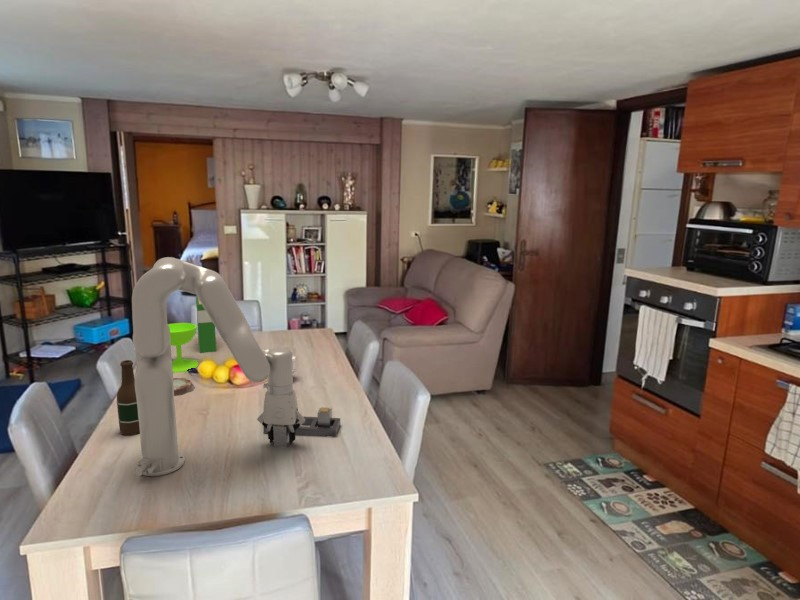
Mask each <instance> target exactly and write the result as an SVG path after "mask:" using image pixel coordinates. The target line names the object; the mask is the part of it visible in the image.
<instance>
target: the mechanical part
mask: <svg viewBox="0 0 800 600" xmlns="http://www.w3.org/2000/svg"><path fill="white" fill-rule="evenodd" d="M296 357H297V356H294V355H292V369H293V374H295V373H296V372H297V358H296Z"/></svg>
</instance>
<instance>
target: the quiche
mask: <svg viewBox="0 0 800 600" xmlns="http://www.w3.org/2000/svg"><path fill="white" fill-rule="evenodd" d="M173 383H174V397H178V396H184V395H186V394H188V393H192V392H194V391H195V389H196V387H195V385H194V383H193V382H192V381H191V380H190V379H189V378H188V379H187V378H186V377H178V378H177V377H176V378H175V377H173Z"/></svg>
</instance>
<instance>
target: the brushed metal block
mask: <svg viewBox="0 0 800 600" xmlns="http://www.w3.org/2000/svg"><path fill="white" fill-rule="evenodd" d="M273 432H274V441H273V447H274V448H287V447H288V445H289V432H290V428H289V425H274V426H273Z"/></svg>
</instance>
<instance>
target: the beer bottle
mask: <svg viewBox="0 0 800 600" xmlns="http://www.w3.org/2000/svg"><path fill="white" fill-rule="evenodd" d="M133 365H134V362H133V360H131V359H130V360H129V359H126V360H122V361H121V362H120V367H121V383H120V384H121V385H120V387H119V388H118V390H117V392H116V406H117V416H118V417H117V418H118V426H119V432H120V433H121V435H122V436H135V435H138V434H139V435H140V428H139V418H138V408H137V399H136V392H135V374H134V368H133Z"/></svg>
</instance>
